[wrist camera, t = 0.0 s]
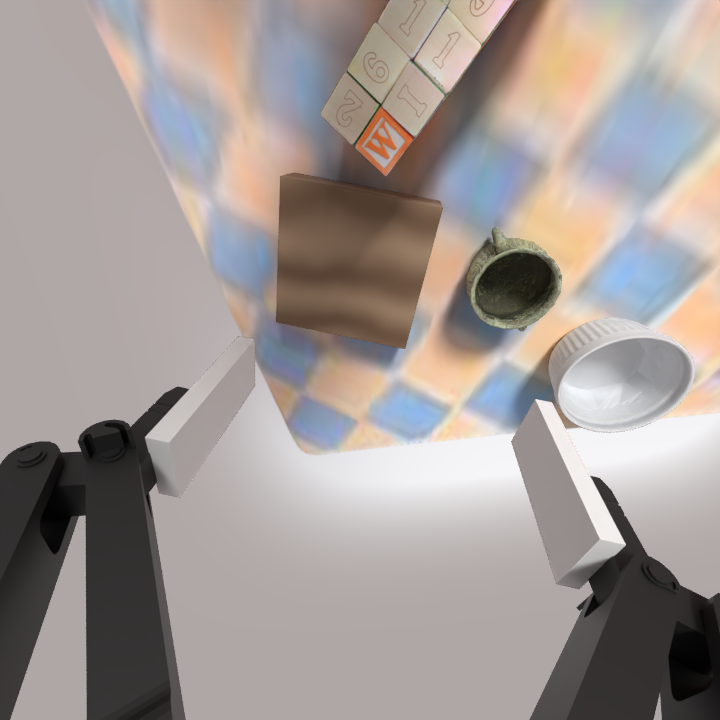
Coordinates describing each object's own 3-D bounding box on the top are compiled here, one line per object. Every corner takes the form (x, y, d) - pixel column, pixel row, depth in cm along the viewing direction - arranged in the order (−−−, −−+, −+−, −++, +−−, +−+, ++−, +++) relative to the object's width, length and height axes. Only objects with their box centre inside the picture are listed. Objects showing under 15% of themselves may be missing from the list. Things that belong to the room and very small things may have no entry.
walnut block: (295, 172, 38) (280, 176, 34) (440, 200, 37) (442, 207, 33) (288, 305, 47) (276, 322, 42) (406, 330, 46) (405, 348, 42)
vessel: (449, 237, 39) (453, 252, 34) (532, 203, 36) (552, 213, 31) (477, 327, 44) (486, 352, 39) (553, 303, 41) (573, 327, 36)
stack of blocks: (530, -168, 24) (615, -399, 14) (586, -88, 26) (700, -242, 15) (346, 123, 35) (317, 114, 24) (393, 168, 36) (384, 178, 26)
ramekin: (658, 292, 39) (700, 319, 33) (657, 384, 45) (694, 420, 39) (531, 326, 43) (549, 355, 37) (546, 406, 49) (564, 442, 43)
